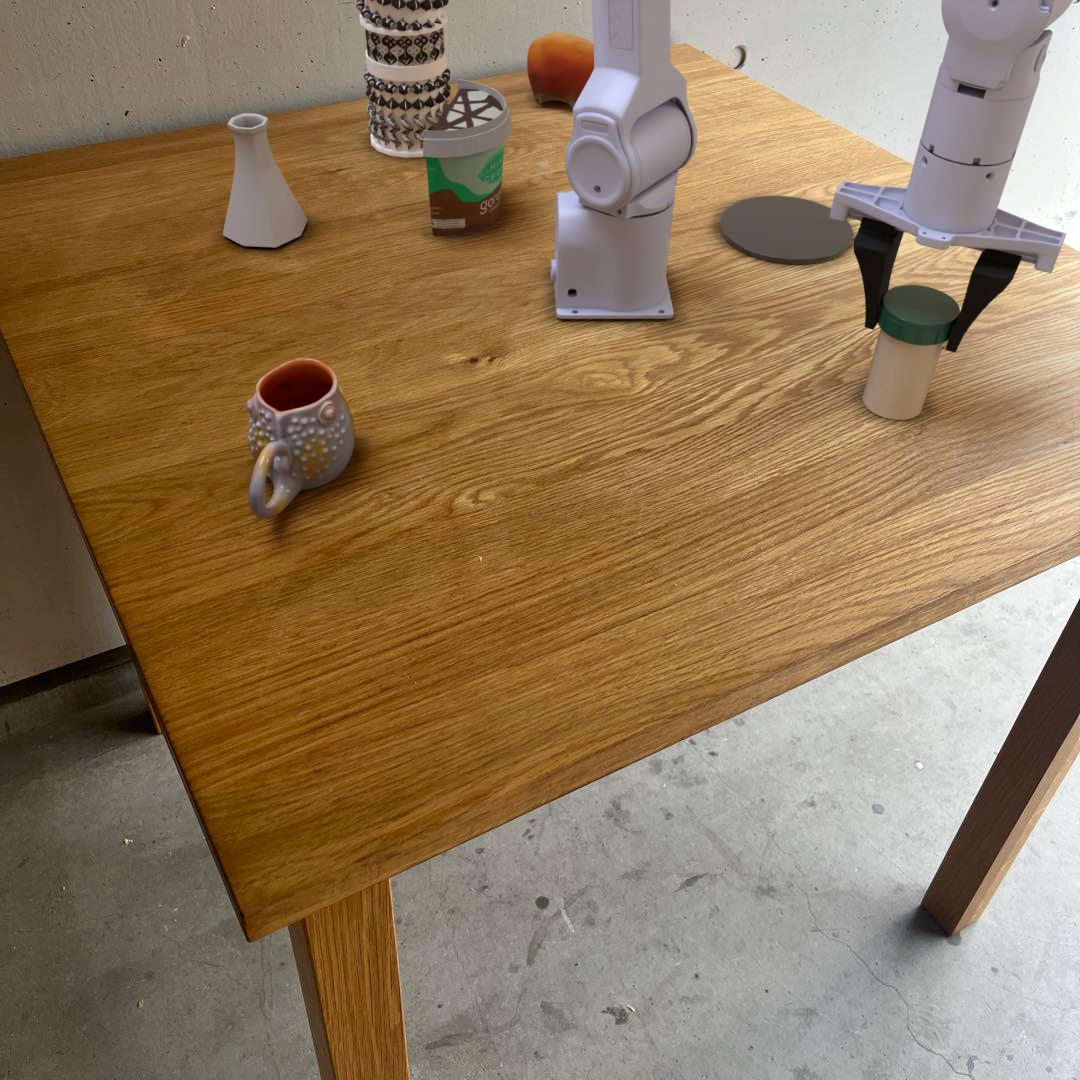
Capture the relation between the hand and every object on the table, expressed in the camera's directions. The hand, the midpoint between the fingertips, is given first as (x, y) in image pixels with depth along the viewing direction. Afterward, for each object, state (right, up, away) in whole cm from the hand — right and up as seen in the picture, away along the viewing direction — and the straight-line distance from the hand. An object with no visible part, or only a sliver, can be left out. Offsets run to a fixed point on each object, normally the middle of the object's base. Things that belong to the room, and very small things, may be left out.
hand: (912, 333), depth 78 cm
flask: (-51, +13, +21) cm, 57 cm away
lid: (0, +1, -1) cm, 2 cm away
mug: (-43, -11, -4) cm, 44 cm away
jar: (0, -4, +4) cm, 6 cm away
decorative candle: (-39, +26, +35) cm, 59 cm away
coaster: (-4, +14, +23) cm, 27 cm away
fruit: (-24, +34, +44) cm, 60 cm away
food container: (-32, +15, +24) cm, 43 cm away
